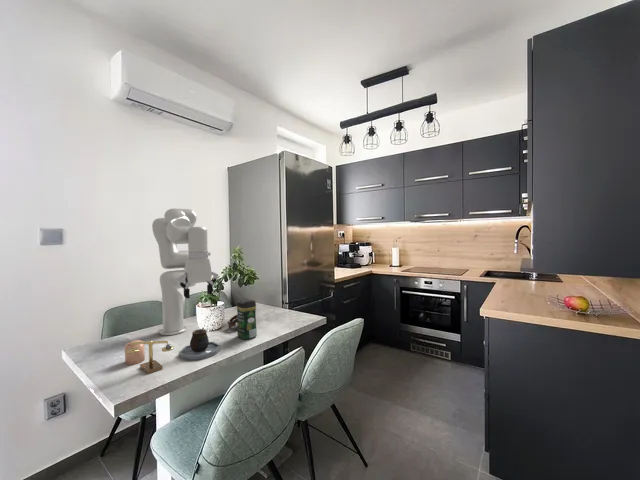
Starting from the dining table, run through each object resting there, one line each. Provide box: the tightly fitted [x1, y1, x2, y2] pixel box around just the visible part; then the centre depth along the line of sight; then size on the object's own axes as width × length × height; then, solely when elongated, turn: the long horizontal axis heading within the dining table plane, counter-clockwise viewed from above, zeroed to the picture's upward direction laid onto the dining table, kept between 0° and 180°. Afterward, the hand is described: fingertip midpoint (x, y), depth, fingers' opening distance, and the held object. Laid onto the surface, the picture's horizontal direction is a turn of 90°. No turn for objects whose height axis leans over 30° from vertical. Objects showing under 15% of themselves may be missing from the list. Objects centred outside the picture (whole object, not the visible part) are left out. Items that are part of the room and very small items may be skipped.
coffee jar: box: [236, 297, 258, 340], centre depth 135 cm, size 10×8×19 cm
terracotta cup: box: [124, 339, 146, 366], centre depth 110 cm, size 6×6×8 cm
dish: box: [178, 341, 221, 361], centre depth 117 cm, size 15×15×2 cm
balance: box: [126, 340, 174, 375], centre depth 103 cm, size 8×16×11 cm, turn 138°
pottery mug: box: [227, 314, 238, 329], centre depth 150 cm, size 12×10×8 cm
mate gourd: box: [189, 328, 210, 352], centre depth 117 cm, size 7×8×10 cm
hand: (198, 296), depth 118 cm, fingers open, 9 cm apart
